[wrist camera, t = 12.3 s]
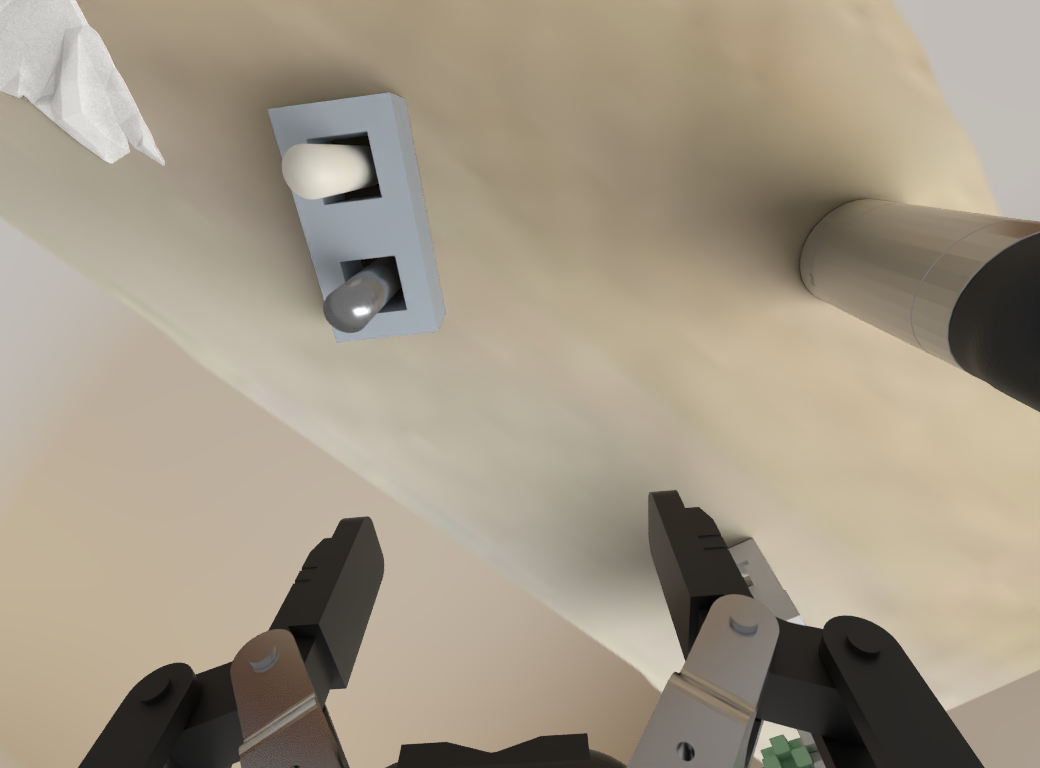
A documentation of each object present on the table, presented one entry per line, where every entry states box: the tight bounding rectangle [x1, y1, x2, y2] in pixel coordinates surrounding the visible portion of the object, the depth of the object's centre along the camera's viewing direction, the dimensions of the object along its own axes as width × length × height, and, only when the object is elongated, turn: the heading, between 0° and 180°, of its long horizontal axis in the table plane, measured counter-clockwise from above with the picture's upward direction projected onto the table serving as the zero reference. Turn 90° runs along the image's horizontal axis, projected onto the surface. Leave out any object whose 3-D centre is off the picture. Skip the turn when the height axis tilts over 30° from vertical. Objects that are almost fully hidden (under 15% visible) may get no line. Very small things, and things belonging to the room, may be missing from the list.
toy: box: [729, 538, 826, 768], centre depth 48 cm, size 30×10×30 cm, turn 33°
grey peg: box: [323, 256, 402, 333], centre depth 40 cm, size 3×3×12 cm
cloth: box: [0, 0, 165, 166], centre depth 37 cm, size 26×14×2 cm, turn 40°
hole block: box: [267, 92, 446, 343], centre depth 41 cm, size 9×18×5 cm, turn 7°
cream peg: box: [282, 144, 378, 200], centre depth 36 cm, size 3×3×12 cm
